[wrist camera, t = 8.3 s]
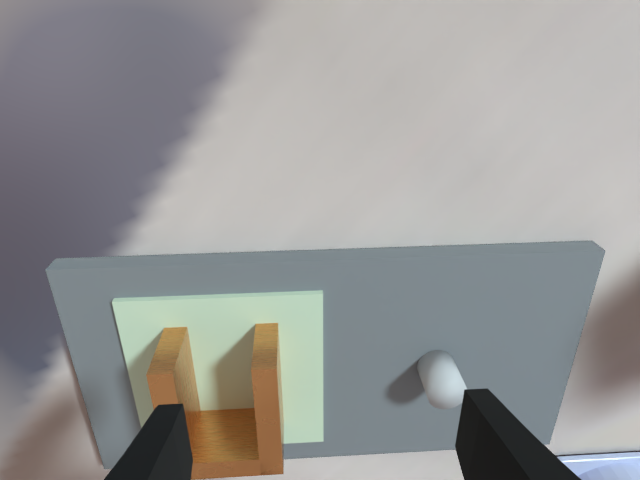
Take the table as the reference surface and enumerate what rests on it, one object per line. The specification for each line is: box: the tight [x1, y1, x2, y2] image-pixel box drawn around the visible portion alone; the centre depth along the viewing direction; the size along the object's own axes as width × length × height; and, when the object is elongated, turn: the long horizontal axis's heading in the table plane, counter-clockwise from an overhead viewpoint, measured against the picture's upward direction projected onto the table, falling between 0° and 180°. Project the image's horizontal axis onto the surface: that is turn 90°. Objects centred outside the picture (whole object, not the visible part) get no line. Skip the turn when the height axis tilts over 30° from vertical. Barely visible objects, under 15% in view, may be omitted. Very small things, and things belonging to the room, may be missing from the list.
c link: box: [146, 323, 284, 479], centre depth 21 cm, size 6×5×3 cm
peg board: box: [45, 241, 605, 469], centre depth 22 cm, size 12×24×3 cm, turn 90°
